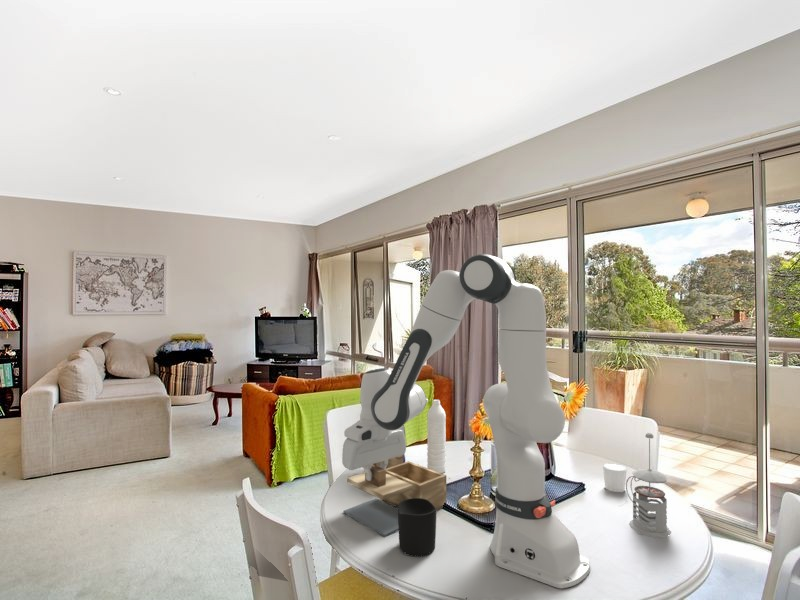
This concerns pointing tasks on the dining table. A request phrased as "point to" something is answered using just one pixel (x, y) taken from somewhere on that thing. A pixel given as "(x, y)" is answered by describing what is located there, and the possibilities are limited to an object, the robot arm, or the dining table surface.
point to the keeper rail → (392, 462)
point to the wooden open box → (419, 484)
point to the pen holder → (417, 526)
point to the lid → (380, 483)
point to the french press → (649, 521)
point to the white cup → (614, 477)
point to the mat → (376, 516)
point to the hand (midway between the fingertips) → (375, 477)
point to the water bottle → (436, 437)
